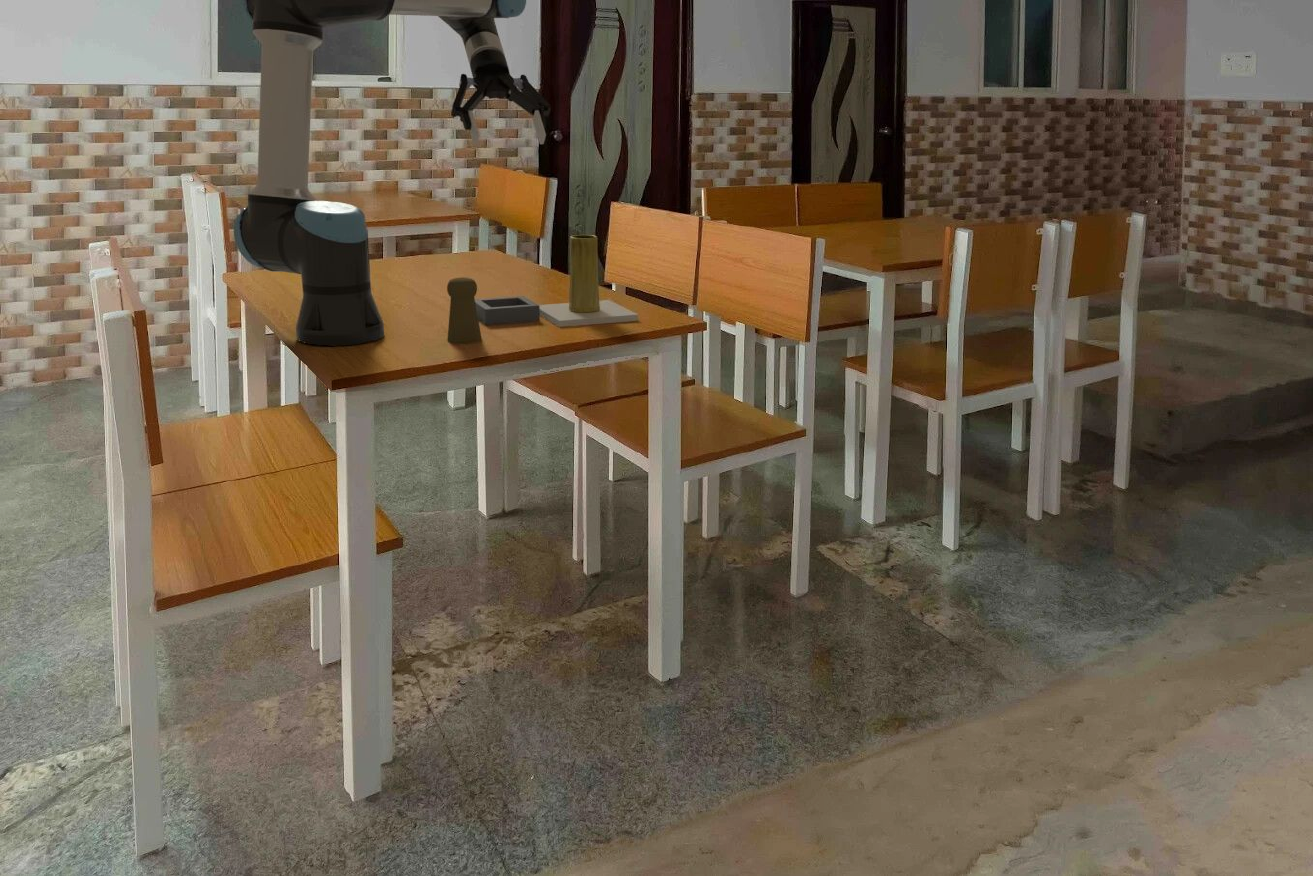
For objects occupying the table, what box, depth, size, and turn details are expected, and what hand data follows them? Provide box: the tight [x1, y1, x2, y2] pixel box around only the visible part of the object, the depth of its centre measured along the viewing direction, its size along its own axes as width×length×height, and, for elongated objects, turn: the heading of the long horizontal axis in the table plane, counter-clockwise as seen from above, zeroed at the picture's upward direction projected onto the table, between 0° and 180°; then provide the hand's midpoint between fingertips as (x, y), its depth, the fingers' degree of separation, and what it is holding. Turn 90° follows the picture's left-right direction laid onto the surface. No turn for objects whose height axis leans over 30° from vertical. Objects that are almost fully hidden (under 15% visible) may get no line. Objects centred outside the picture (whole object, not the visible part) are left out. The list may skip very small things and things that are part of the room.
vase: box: [568, 234, 600, 313], centre depth 215 cm, size 6×6×14 cm
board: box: [538, 299, 639, 328], centre depth 218 cm, size 16×16×1 cm
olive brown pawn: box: [446, 276, 483, 345], centre depth 195 cm, size 6×6×11 cm
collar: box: [475, 295, 541, 326], centre depth 215 cm, size 11×11×3 cm
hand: (510, 140), depth 220 cm, fingers open, 13 cm apart
